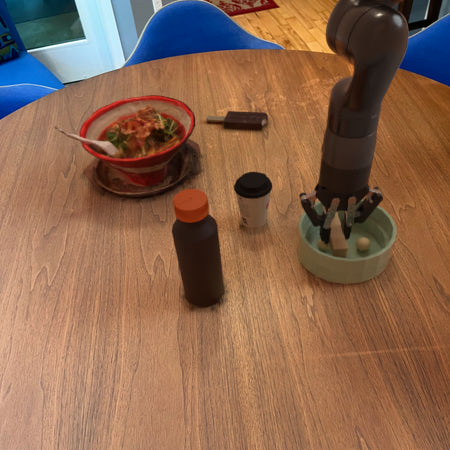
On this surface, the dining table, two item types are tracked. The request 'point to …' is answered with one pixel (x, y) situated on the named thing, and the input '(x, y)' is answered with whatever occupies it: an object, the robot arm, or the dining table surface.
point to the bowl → (355, 259)
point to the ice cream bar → (242, 120)
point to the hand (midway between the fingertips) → (334, 239)
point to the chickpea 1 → (322, 245)
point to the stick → (337, 239)
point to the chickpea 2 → (363, 244)
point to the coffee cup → (253, 198)
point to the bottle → (197, 248)
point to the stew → (140, 145)
